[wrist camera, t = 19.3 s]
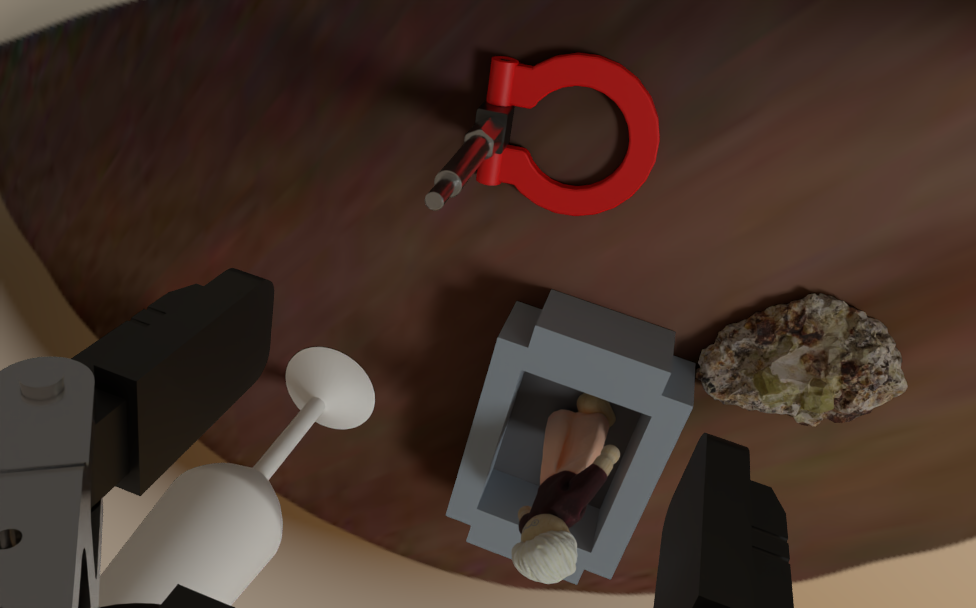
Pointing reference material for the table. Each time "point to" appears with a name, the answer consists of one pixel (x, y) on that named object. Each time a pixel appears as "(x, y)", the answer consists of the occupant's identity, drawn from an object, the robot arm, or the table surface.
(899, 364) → the mineral rock
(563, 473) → the grandmother figurine
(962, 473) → the table surface
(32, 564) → the robot arm
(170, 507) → the champagne flute
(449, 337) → the table surface
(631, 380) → the well block
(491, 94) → the tow hook
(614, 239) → the table surface
